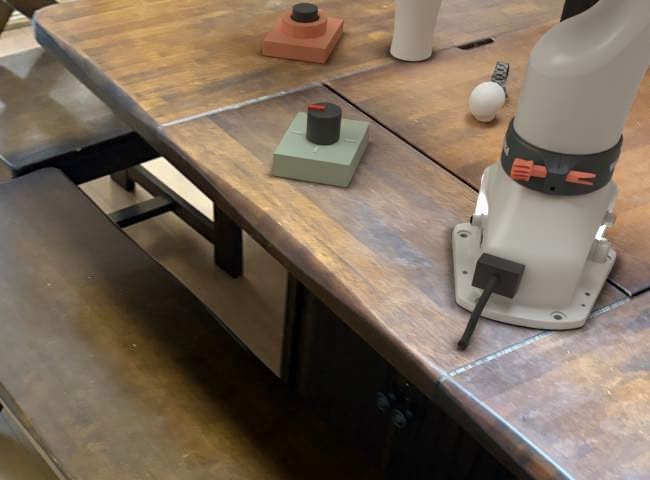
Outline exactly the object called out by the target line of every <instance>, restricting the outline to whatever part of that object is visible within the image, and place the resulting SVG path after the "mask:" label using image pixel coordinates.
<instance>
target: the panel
mask: <svg viewBox="0 0 650 480" xmlns="http://www.w3.org/2000/svg"><path fill="white" fill-rule="evenodd" d="M370 127H371V122H370V121H363V120H358V119H357V120H355V119H350V118H341V129H340V138H339V140H338V141H337V142H335V143H333V144H329V145H319V144H314V143H312V142H310V141H309V140H308V139H307V138H306V129H307V112H301V111H298V112H297V113H296V115H295V116H294V118H293V120H292V121H291V123H290V125H289V126H288V128H287V130H286V131H285V133H284V135H283V136H282V138H281V140H280V141H279V143H278V145H277V146H276V148H275V150H274V152H273V155H272V176H273V177H278V178H279V177H280V178H286V179H292V180H298V181H304V182H312V183H317V184H324V185H328V186H335V187H341V188H348V187H349V185H350V183H351V181H352V178H353V176H354V174H355V172H356V170H357V168H358V165H359V164H360V161H361V160H362V157H363V155H364V153H365V151H366V149H367V147H368V144H369V138H370Z"/></svg>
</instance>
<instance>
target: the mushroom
mask: <svg viewBox="0 0 650 480" xmlns="http://www.w3.org/2000/svg"><path fill="white" fill-rule="evenodd" d="M505 103H506V98H505V92H504V90H503V88H502V87H501V86H500V85H499V84H497V83H495V82H491V81H483V82H482V83H481V82H480V83H479V84H478V85H477V86H475V88H474V89H473V90H472V91H471V93H470V95H469V100H468V107H469V111H470V114H472V115H473V116H474V118H475V120H477V121H479V122H481V123H488V122H491V121H493V120H494V119H495V118H496V115H497V113H498V112H499V111H500V110H501V109H502V107H504V105H505Z"/></svg>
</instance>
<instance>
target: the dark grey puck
mask: <svg viewBox="0 0 650 480" xmlns="http://www.w3.org/2000/svg"><path fill="white" fill-rule="evenodd" d="M291 10H292V20H293V21H296V22H299V23H313V22H315V21H317V20H318V11H319V6H318V5H316V4H314V3H311V2H300V3H296V4H294V5H293V6H292V9H291Z"/></svg>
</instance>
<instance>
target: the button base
mask: <svg viewBox="0 0 650 480" xmlns="http://www.w3.org/2000/svg"><path fill="white" fill-rule="evenodd" d="M344 22H345V19H344V18H338V17H329V16H327V14H325V12H322V11H321V10H318V20H317V21H315V22H313V23H299V22H296V21H293V20H292V9H291V10H288V11H283V13H282V15H280V17H279V19H278V20H277V21H276V23H275V24H274V25H273V27H272V28H271V29H270V31H269V32H268V34H266V36H265V38H264V39H263V40H262V56H265V57H271V58H272V57H273V58H279V59H287V60H294V61H302V62H310V63H317V64H325V63H326V62H327V61H328V58H329V57H330V55H331V54H332V52H333V51H334V49H335V47H336V46H337V44H338V42H339V40H340V39H341V38H342V35H343V33H344Z"/></svg>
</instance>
